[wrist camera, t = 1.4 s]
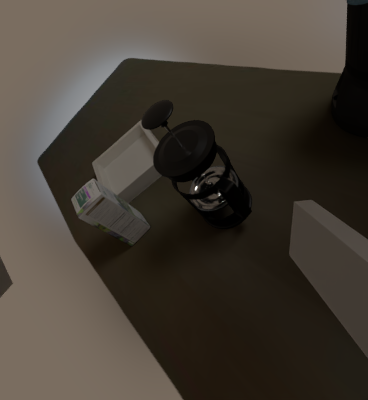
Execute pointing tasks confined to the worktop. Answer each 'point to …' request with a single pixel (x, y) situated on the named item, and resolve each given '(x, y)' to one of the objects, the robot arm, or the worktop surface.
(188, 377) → the worktop surface
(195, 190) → the french press
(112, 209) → the syrup box
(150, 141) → the bin
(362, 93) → the robot arm
